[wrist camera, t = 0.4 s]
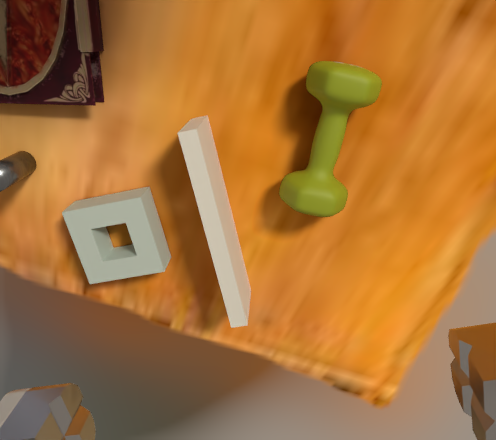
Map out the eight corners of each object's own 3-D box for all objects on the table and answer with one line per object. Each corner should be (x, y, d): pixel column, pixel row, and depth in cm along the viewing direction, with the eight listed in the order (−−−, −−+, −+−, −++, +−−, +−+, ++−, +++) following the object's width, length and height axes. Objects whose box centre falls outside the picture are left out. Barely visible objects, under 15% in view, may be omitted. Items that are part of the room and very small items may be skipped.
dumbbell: (309, 54, 51) (314, 57, 45) (379, 70, 51) (395, 76, 45) (275, 191, 57) (274, 212, 51) (337, 205, 58) (345, 228, 51)
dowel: (8, 153, 58) (-26, 169, 51) (30, 148, 57) (-1, 164, 51) (18, 176, 59) (-14, 194, 52) (39, 171, 58) (10, 189, 52)
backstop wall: (191, 118, 55) (177, 132, 47) (207, 115, 54) (196, 128, 47) (236, 292, 63) (231, 327, 56) (251, 290, 63) (247, 325, 55)
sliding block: (75, 201, 59) (61, 212, 56) (149, 186, 58) (140, 197, 54) (100, 269, 63) (89, 284, 59) (171, 257, 61) (164, 271, 58)
